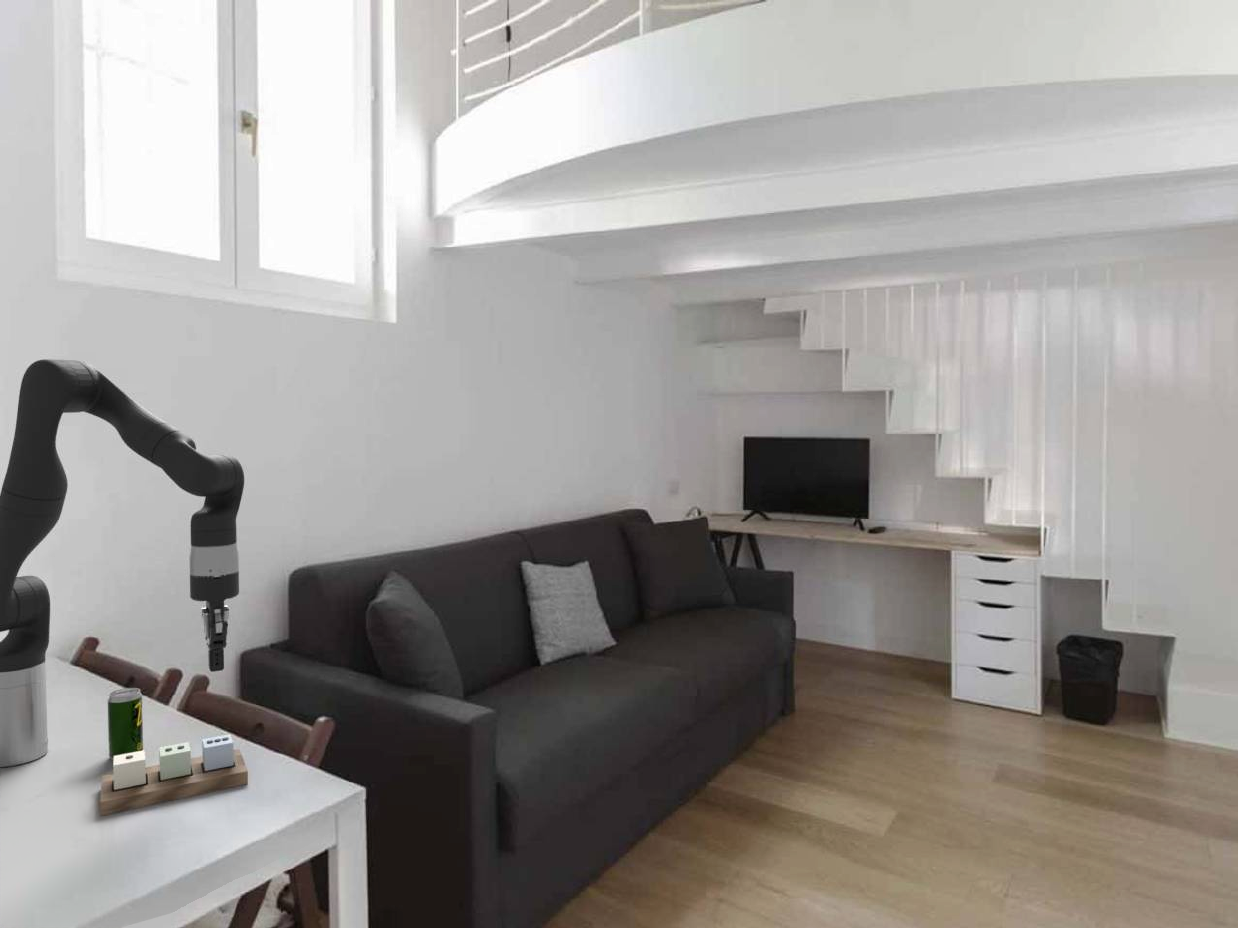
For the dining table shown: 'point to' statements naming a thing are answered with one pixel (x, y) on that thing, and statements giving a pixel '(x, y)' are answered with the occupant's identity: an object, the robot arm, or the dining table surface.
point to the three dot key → (217, 752)
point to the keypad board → (171, 785)
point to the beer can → (125, 722)
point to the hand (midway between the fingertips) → (216, 669)
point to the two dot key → (175, 760)
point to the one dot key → (129, 769)
